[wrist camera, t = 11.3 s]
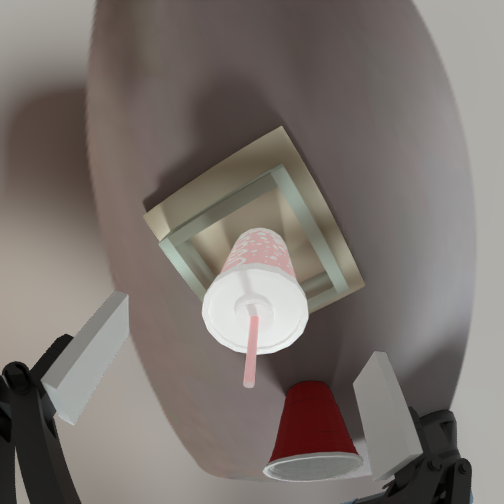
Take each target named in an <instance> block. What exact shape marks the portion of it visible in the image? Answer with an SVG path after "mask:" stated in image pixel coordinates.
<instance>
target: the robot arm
mask: <svg viewBox="0 0 504 504" xmlns="http://www.w3.org/2000/svg"><path fill="white" fill-rule="evenodd" d="M128 336H129V315H128V294H125V293H122V292H119V291H116V290H115V291H114V292H113V293H112V294H111V296H110V297H109V298H108V299H107V300H106V301H105V302H104V304H103V305H102V306H101V307H100V308H99V309H98V310H97V311H96V313H95V314H94V315H93V316H92V317H91V318H90V319H89V321H88V322H87V323H86V324H85V325H84V326H83V328H82V329H81V330H80V331H79V332H78V334H77V335H76V336H75V337H72V336H70V335H68V334H64V335H63V336H61V337H59V338H57V339H56V340H55V341H54V343H53V344H52V345H51V347H49V348H48V350H47V351H46V353H44V354H43V356H42V357H41V358H40V359H39V361H38V362H37V363H36V364H35V365H34V367H33V368H32V369H31V370H30V371H29V368H28V367H27V366H26V365H25V364H24V363H22V362H17V361H15V362H11V363H9V364H7V365H6V366H5V367H4V369H3V371H2V376H1V375H0V504H17V501H16V490H15V447H16V452H17V457H18V461H19V466H20V470H21V474H22V478H23V482H24V485H25V489H26V492H27V495H28V498H29V501H30V504H81V501H80V499H79V497H78V494H77V492H76V489H75V487H74V484H73V482H72V479H71V476H70V473H69V470H68V468H67V465H66V461H65V458H64V455H63V452H62V448H61V445H60V441H59V437H58V433H57V429H56V425H55V421H54V418H53V416H54V414H55V413H56V412H57V414H58V415H59V417H60V418H61V419H63V420H64V421H66V422H68V423H70V424H72V425H75V423H76V422H77V420H78V418H79V416H80V414H81V413H82V411H83V409H84V407H85V406H86V404H87V402H88V400H89V398H90V397H91V395H92V394H93V392H94V390H95V388H96V387H97V385H98V383H99V382H100V380H101V378H102V377H103V375H104V373H105V372H106V370H107V369H108V367H109V366H110V364H111V362H112V361H113V359H114V357H115V356H116V354H117V353H118V351H119V350H120V348H121V346H122V345H123V343H124V342H125V340H126V339H127V337H128ZM353 387H354V391H355V395H356V400H357V404H358V408H359V412H360V417H361V421H362V426H363V430H364V435H365V440H366V444H367V449H368V454H369V460H370V465H371V470H372V476H373V481H379V480H386V479H388V478H389V477H391V476H392V475H395V479H394V480H392V481H391V482H389V483H388V484H386V485H384V487H383V488H382V489H385V488H386V487H388V486H389V487H388V489H387V490H386V491H384V492H381V493H378V494H375V495H371V496H368V497H364V498H360V499H358V498H357V499H354V500H352V501H349V502H345V503H342V504H472V503H473V496H472V491H471V477H472V468H471V464H470V462H469V461H468V460H467V459H465V458H461V456H460V453H459V451H458V448H457V423H456V419H455V417H454V414H453V412H451V411H448V410H446V411H439V412H436V413H433V414H430V415H427V416H425V417H423V418H421V419H419V417H418V414H417V413H416V411H415V410H414V409H413V408H412V407H407V404H406V401H405V399H404V396H403V393H402V391H401V388H400V386H399V383H398V381H397V378H396V376H395V373H394V371H393V368H392V366H391V364H390V361H389V359H388V356H387V354H386V352H379V351H374V353H373V354H372V356H371V357H370V359H369V360H368V362H367V363H366V365H365V366H364V368H363V369H362V371H361V372H360V374H359V375H358V377H357V378H356V380H355V381H354V383H353Z"/></svg>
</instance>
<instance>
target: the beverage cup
mask: <svg viewBox="0 0 504 504" xmlns="http://www.w3.org/2000/svg"><path fill="white" fill-rule="evenodd" d="M202 316H203V319H204V321H205V324H206V327H207V330H208V331H209V332H210V333H211V334H212V335H213V336H214V337H215V339H216V340H217V341H218V342H219V343H221V344H223V345H225V346H226V347H228V348H230V349H232V350H234V351H237V352H242V353H247V355H246V364H245V373H244V382H243V385H244V387H246V388H252V387H254V382H255V368H256V355H258V354H268V353H274V352H276V351H279V350H281V349H283V348H286V347H288V346H290V345H291V344H292V343H293V342H294V341H295V340H296V339H297V338H298V337H299V336H300V335H301V334H302V333H303V331H304V328H305V326H306V323H307V321H308V318H309V317H308V307H307V299H306V297H305V293H304V291H303V290H302V288H301V287H300V285H299V284H298V282H297V280H296V276H295V273H294V270H293V266H292V263H291V260H290V256H289V253H288V250H287V246H286V244H285V242H284V241H283V239H282V238H281V236H280V235H278V234H277V233H275V232H274V231H272V230H270V229H265V228H255V229H250V230H248V231H246V232H245V233H243V234H241V236H240V237H239V238H238V240H237V241H236V243H235V244H234V246H233V248H232V250H231V252H230V254H229V256H228V258H227V260H226V262H225V265H224V267H223V269H222V271H221V273H220V274H219V275H218V276H217V277H216V279H215V280H214V281H213V283H212V284H211V286H210V287H209V288H208V290H207V292H206V294H205V296H204V301H203V309H202Z"/></svg>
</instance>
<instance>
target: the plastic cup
mask: <svg viewBox="0 0 504 504" xmlns="http://www.w3.org/2000/svg"><path fill="white" fill-rule="evenodd" d="M362 465H363V458H362V457H361V456H359V454H358V452H357V451H356V448H355V446H354V445H353V442H352V439H350V436H349V433H348V431H347V428H346V426H345V423H344V420H343V418H342V415H341V413H340V410H339V407H338V405H337V404H336V402H335V399H334V397H333V394H332V392H331V390H330V389H329V387H328V386H327V385H326V384H325V383H322V382H319V381H305V382H300V383H298V384H296V385H294V386H293V387H291V388H290V389H289V390H288V393H287V395H286V398H285V403H284V409H283V413H282V416H281V420H280V425H279V430H278V434H277V439H276V443H275V447H274V450H273V453H272V456H271V458H270V461H269V463H268V464H266V466H265V468H264V470H263V473H264V474H266V475H267V476H268V477H271V478H274V479H277V480H284V481H292V482H309V481H319V480H326V479H331V478H335V477H339V476H343V475H346V474H348V473H351V472H353V471H355V470H357V469H358V468H359V467H361V466H362Z"/></svg>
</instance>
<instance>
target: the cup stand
mask: <svg viewBox="0 0 504 504" xmlns="http://www.w3.org/2000/svg"><path fill="white" fill-rule="evenodd" d="M142 217H143V218H144V220H145V221H146V223H147V224H148V225H149V227H150V228H151V230H152V231H153V233H154V234H155V235H156V237H157V238H158V240H159V241H160V242H159V243H158V244H159V246H160V247H161V249H162V250H163V251H164V253H165V254H166V256H167V257H168V258H169V260H170V261H171V262H172V264H173V265H174V266H175V268H176V269H177V270H178V272H179V273H180V274H181V276H182V277H183V278H184V280H185V281H186V282H187V284H188V285H189V286H190V288H191V289H192V290H193V291H194V293H195V294H196V295H197V297H198V298H199V299H200V300H201V302H202V303H203V301H204V296H205V294H206V292H207V290H208V288H209V287H210V286H211V284H212V283H213V281H214V280H215V279H216V277H217V276H218V275H219V274H220V273H221V271H222V269H223V267H224V265H225V262H226V260H227V258H228V256H229V254H230V252H231V250H232V248H233V246H234V244H235V243H236V241H237V240H238V238H239V237H240V236H241V234H243V233H245V232H246V231H248V230H250V229H255V228H265V229H270V230H272V231H274V232H275V233H277V234H278V235H280V236H281V238H282V239H283V241H284V242H285V244H286V246H287V250H288V253H289V256H290V260H291V263H292V266H293V270H294V273H295V276H296V280H297V282H298V284H299V285H300V287H301V288H302V290H303V291H304V293H305V297H306V299H307V307H308V314H310V313H312V312H315V311H317V310H319V309H321V308H323V307H325V306H327V305H329V304H331V303H333V302H335V301H337V300H339V299H341V298H343V297H345V296H347V295H349V294H351V293H353V292H355V291H357V290H359V289H361V288H363V287H365V283H364V281H363V279H362V276H361V274H360V272H359V270H358V267H357V265H356V263H355V261H354V259H353V256H352V254H351V252H350V250H349V248H348V246H347V244H346V242H345V240H344V237H343V235H342V233H341V231H340V229H339V227H338V225H337V223H336V221H335V219H334V217H333V215H332V213H331V211H330V209H329V208H328V206H327V204H326V202H325V200H324V198H323V196H322V194H321V192H320V191H319V189H318V187H317V185H316V183H315V181H314V180H313V178H312V176H311V174H310V172H309V171H308V169H307V167H306V165H305V164H304V162H303V160H302V158H301V157H300V155H299V153H298V152H297V150H296V148H295V147H294V145H293V143H292V142H291V140H290V138H289V137H288V135H287V133H286V132H285V130H284V128H283V127H282V126H280V127H278V128H277V129H275V130H273V131H271V132H269V133H268V134H266V135H264V136H262V137H261V138H259V139H257V140H256V141H254V142H252V143H250V144H249V145H247V146H245V147H244V148H242V149H240V150H239V151H237V152H236V153H234V154H232V155H231V156H229V157H228V158H226V159H224V160H223V161H221V162H220V163H218V164H216V165H215V166H213V167H212V168H210V169H209V170H207V171H206V172H204V173H203V174H201V175H200V176H198V177H197V178H195V179H194V180H192V181H191V182H189V183H188V184H186V185H185V186H183V187H182V188H181V189H179V190H178V191H176V192H175V193H173V194H172V195H171V196H169V197H168V198H166V199H165V200H164V201H162V202H161V203H160V204H158V205H157V206H156V207H154V208H153V209H151V210H150V211H149V212H147V213H146V214H145V215H143V216H142Z"/></svg>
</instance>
